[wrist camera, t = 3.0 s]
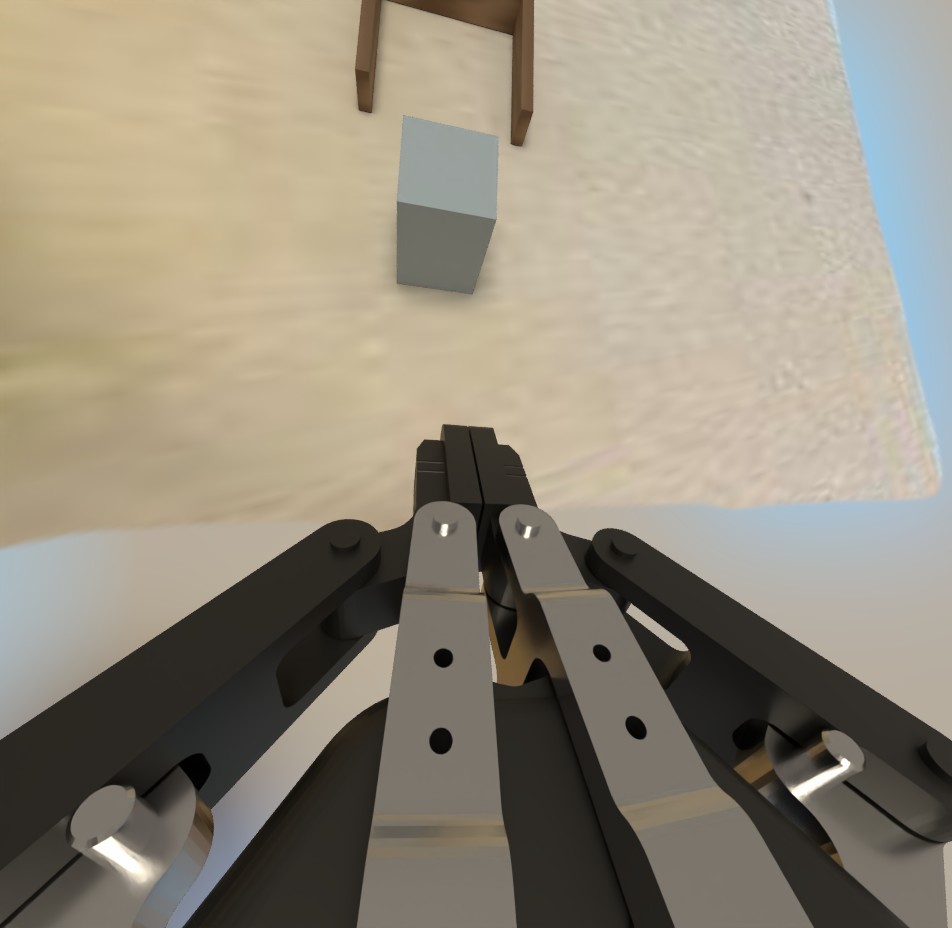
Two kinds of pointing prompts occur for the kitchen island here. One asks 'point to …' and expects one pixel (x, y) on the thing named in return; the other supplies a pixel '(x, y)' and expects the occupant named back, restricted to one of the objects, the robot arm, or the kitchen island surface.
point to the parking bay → (482, 3)
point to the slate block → (444, 204)
